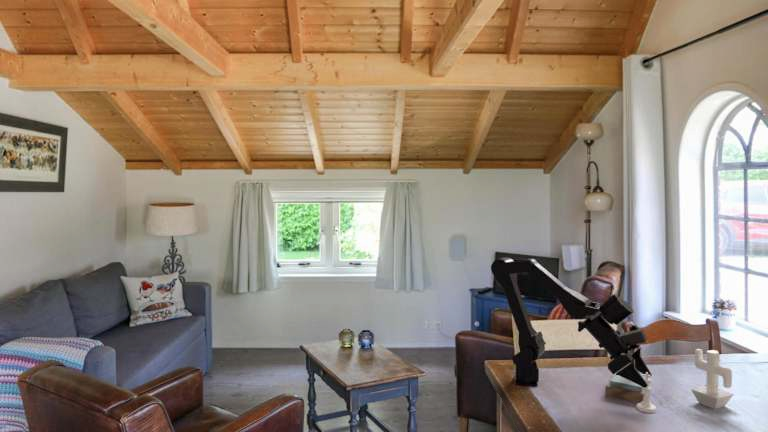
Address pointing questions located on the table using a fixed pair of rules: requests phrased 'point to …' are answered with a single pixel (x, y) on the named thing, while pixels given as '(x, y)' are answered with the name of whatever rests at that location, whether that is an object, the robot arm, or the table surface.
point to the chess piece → (646, 398)
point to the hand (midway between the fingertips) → (648, 381)
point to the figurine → (712, 380)
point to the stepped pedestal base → (624, 389)
